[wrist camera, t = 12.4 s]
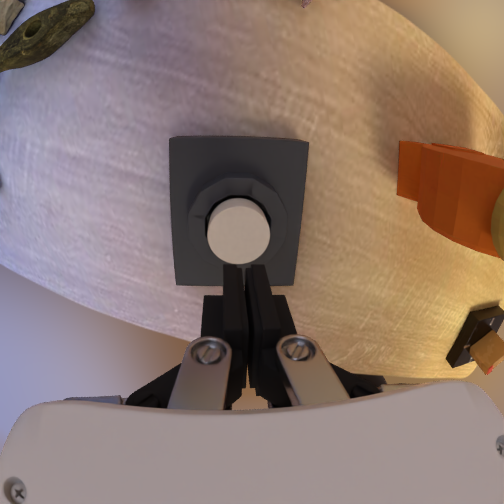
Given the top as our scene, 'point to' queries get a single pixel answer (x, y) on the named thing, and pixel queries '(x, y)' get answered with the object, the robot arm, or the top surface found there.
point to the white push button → (238, 231)
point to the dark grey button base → (235, 186)
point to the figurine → (305, 3)
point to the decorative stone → (44, 33)
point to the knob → (488, 352)
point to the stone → (8, 13)
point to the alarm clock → (456, 193)
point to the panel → (474, 333)
